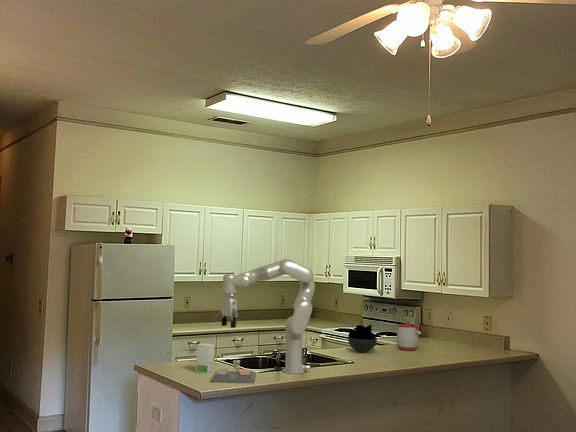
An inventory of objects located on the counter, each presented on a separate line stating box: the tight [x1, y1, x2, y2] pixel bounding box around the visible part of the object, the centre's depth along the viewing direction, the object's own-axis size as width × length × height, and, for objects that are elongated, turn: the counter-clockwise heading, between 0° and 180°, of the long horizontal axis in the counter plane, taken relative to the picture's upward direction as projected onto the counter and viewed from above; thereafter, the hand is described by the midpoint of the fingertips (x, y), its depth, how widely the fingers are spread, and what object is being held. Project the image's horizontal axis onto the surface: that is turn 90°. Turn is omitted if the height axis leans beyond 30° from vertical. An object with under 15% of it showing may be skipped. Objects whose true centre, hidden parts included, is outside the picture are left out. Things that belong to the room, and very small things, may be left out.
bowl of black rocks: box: [347, 324, 378, 353], centre depth 420 cm, size 20×20×19 cm
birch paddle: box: [232, 359, 241, 373], centre depth 334 cm, size 4×3×6 cm
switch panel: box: [211, 370, 257, 384], centre depth 328 cm, size 22×19×4 cm
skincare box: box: [195, 342, 216, 375], centre depth 344 cm, size 8×7×16 cm
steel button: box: [216, 368, 229, 375], centre depth 323 cm, size 5×5×2 cm
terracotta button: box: [239, 368, 251, 375], centre depth 323 cm, size 5×5×2 cm
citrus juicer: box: [396, 320, 422, 352], centre depth 435 cm, size 16×17×20 cm
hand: (228, 326), depth 345 cm, fingers open, 9 cm apart
